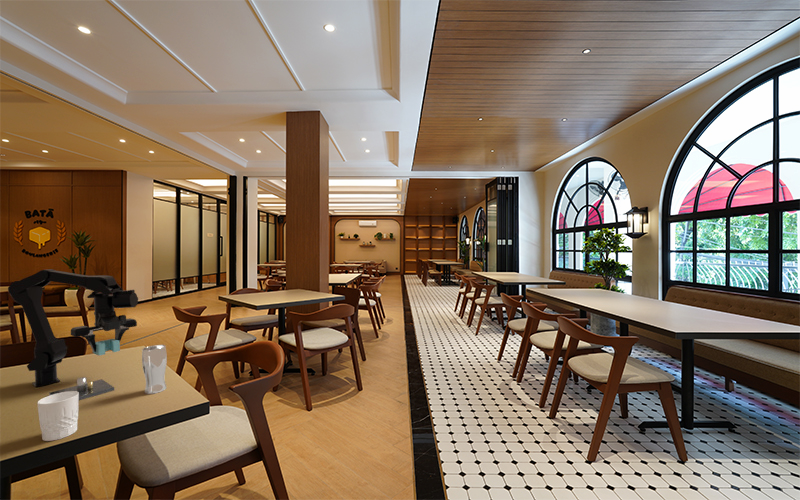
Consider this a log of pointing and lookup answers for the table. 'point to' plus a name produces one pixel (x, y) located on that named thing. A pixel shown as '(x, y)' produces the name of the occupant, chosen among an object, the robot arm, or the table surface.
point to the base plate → (87, 388)
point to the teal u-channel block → (107, 346)
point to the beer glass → (154, 368)
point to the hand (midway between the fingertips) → (106, 349)
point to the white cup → (58, 415)
